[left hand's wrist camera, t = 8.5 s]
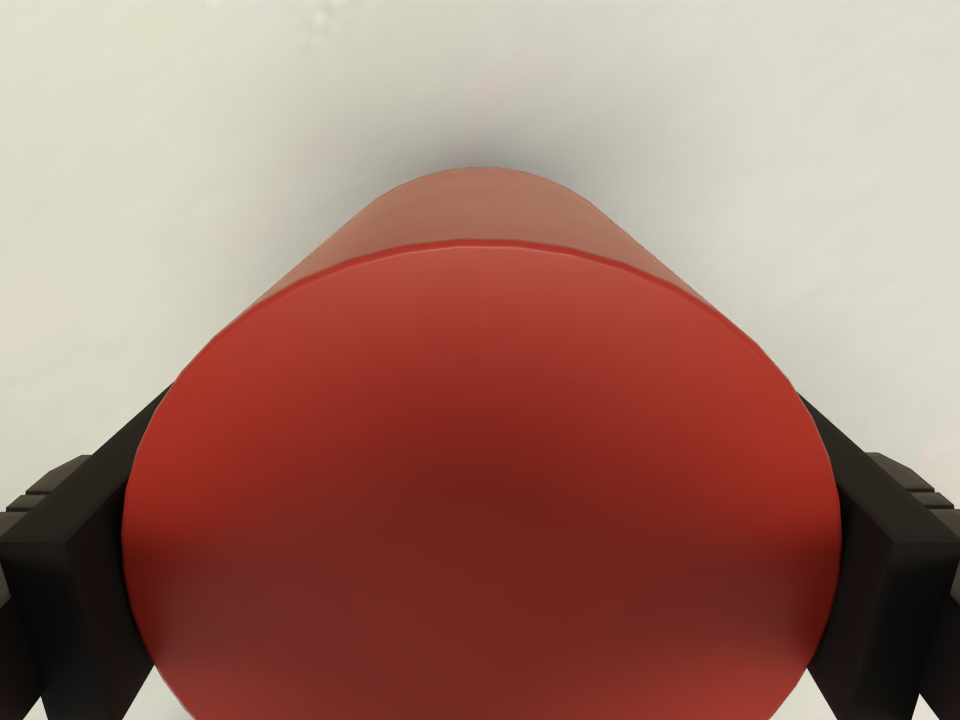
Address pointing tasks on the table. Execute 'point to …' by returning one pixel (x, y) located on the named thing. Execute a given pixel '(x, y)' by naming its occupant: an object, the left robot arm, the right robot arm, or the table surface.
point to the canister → (481, 483)
